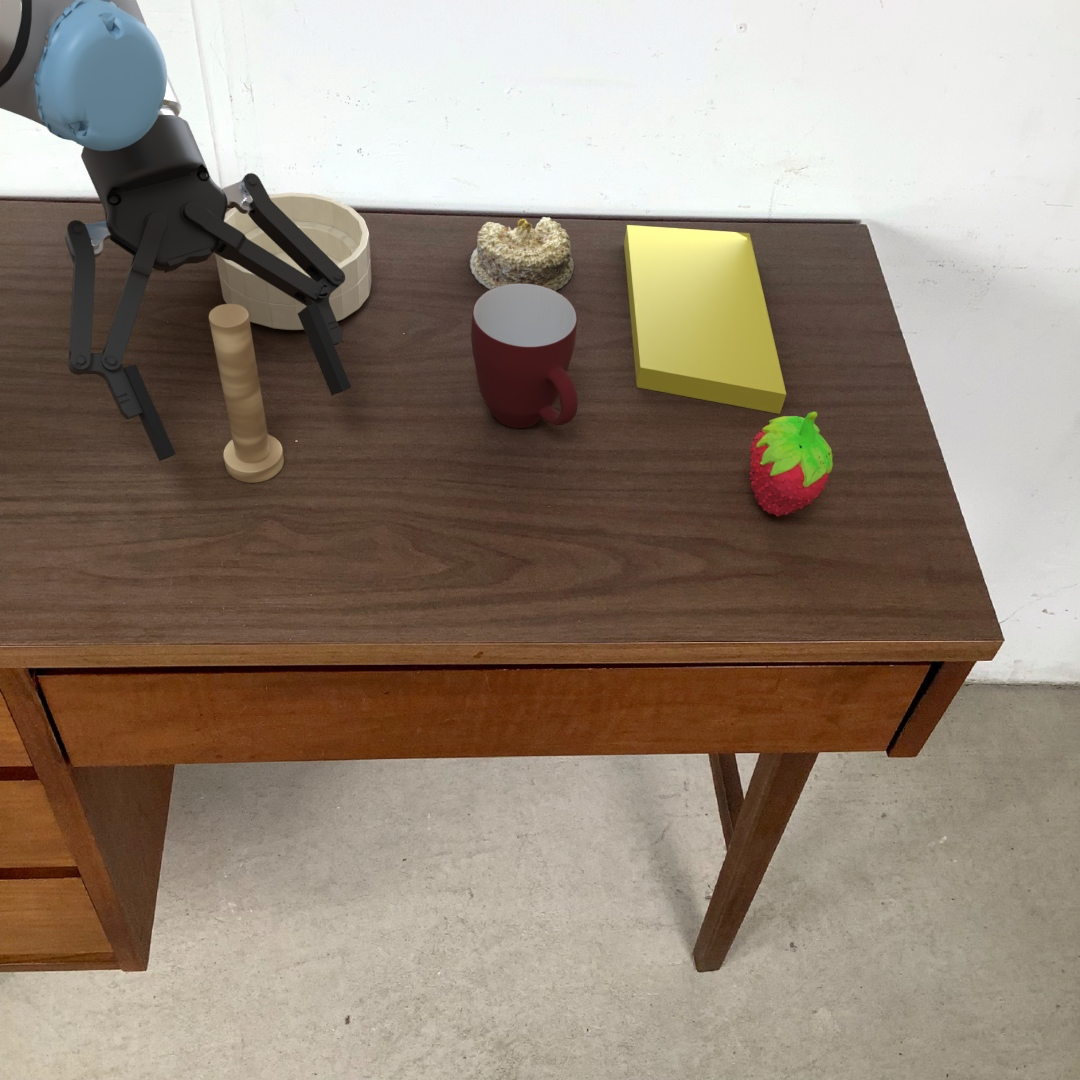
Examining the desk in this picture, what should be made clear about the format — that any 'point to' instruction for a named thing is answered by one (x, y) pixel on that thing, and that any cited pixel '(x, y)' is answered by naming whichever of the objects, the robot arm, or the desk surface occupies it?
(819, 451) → the strawberry
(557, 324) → the mug
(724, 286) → the yellow flat board
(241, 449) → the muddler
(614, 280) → the desk surface
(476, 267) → the cake
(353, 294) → the bowl
